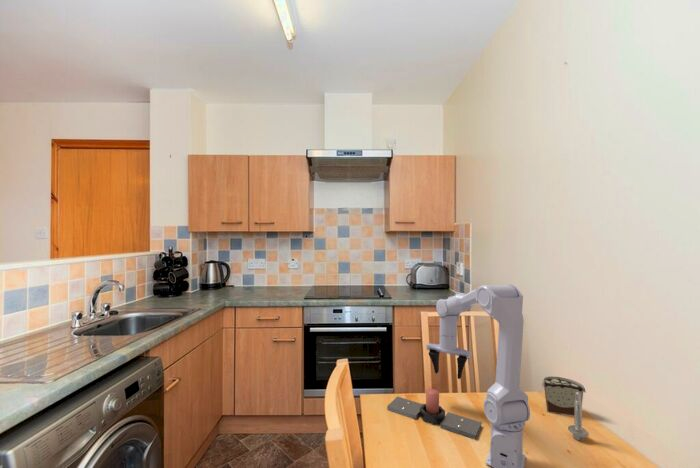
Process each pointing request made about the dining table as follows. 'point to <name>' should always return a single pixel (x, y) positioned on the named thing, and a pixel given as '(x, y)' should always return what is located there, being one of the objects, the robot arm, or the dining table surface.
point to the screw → (578, 420)
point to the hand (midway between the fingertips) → (447, 375)
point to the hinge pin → (432, 401)
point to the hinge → (436, 417)
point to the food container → (561, 394)
